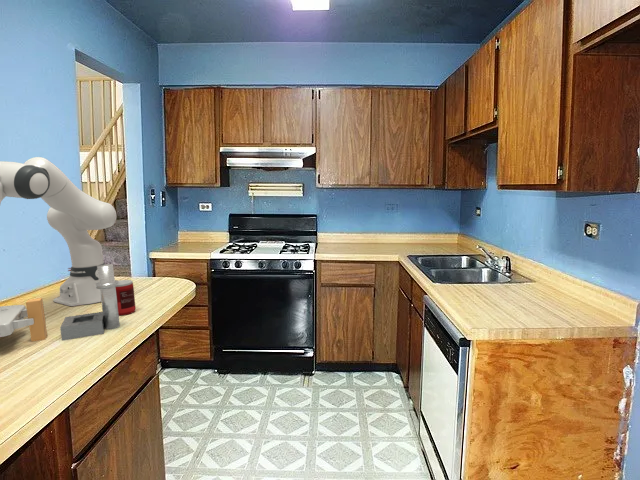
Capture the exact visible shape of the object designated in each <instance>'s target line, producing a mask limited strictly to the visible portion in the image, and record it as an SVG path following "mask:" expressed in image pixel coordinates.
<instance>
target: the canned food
mask: <svg viewBox="0 0 640 480" xmlns="http://www.w3.org/2000/svg"><path fill="white" fill-rule="evenodd" d="M118 283H119V285H118V286H116V296H117V305H118V314H119V317H120V316H127V315H131V314H133V313H135V312H136V310H137V309H136V300H135V289H134V282H133V280H130V279H119V280H118Z"/></svg>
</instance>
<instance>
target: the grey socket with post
mask: <svg viewBox="0 0 640 480" xmlns="http://www.w3.org/2000/svg"><path fill="white" fill-rule="evenodd" d="M97 269H98V277H99V282H98V283H96V288H97V289H100V294H101V310H102V311H97V312H90V313H84V314H77V315H70V316H65V317H64V319H63V322H62V324H61V325H60V327H59V328H60V329H59V330H60V337H61V341H68V340H72V339H80V338H85V337H92V336H98V335H102V334H103V335H104V334H105V330H114V329H118V328H119V327H120V326H121V324H120V323H121V322H120V316H119V314H118V305H117V296H116V286H118V285H119V283H118V281H119V280H117V279H115V272H114V264H111V263H107V264H106V263H105V265H100V266H97Z"/></svg>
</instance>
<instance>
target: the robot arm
mask: <svg viewBox="0 0 640 480" xmlns="http://www.w3.org/2000/svg"><path fill="white" fill-rule="evenodd" d="M6 197H8V198H17V199H18V198H19V199H25V200H36V199H40V198H41V199H42V200H43V201H44V203H46V204H47V205H48V206H49V208H48V211H47V213H46V220H47V222H48V224H49V225H50V227H51V228H52V229H54V230H56V231H57V232H58V233H59V234H60V235H61V236H62V238H63V239H64V240H65V242H66V245H67V247H68V250H69V255H70V261H71V267H68V268H67V269H68V270H67V272H69V277H67V279H66V280H65V281H64V282H63V283H62V284H61V285H60V286H59V296H58V297H55V298H54V299H53V302H55V303H57V304H60V305H61V304H62V305H63V306H64V305H65V306H69V307H76V306H81V305H89V304H96V303H100V302H101V294H100V289H97V288H96V283H98V282H99V277H98V269H97V266H100V265H105V264H106V263H105V261H104V253H103V246H102V244H101V243H100V242H99V241H98V240H96V239H94V238H93V237H92V236H90V234H89V232H88V231H99V230H104V229H108V228H111V227H112V226H114V225H115V223H116V221H117V211H116V209H115V207H114V206H113V205H112V204H111V203H109V202H105V201H102V200H99V199H97V198H95V197H93V196H91V195H90V194H88V193H86V192H84V191H83V190H81V189H80V188H79V187H77V185H76V184H74V183H73V182H72V180H70V178H69V177H68V176H67V175H66V174H65V173H64V172H63V170H61V169H60V168H58V167H57V166H56V165H55V164H54V163H52V162H51V161H50V160H48V159H47V158H46V157H45V158H44V157H41V156H36V157H35V156H34V157H31V158H29V159H27V160H26V161H25V162H24V163H22V162H17V161H2V160H0V205H1V203H2V201H3V200H4V199H5V198H6ZM101 303H102V302H101ZM34 322H35V321H34V318H28V314H27V307H26V305H24V304H14V305H11V304H10V305H2V306H1V305H0V338H3V337H8V336H11V335H12V334H13V333H14V331H16V330H18V329H21V328H24V327H27V326H28V327H29V325H33V324H34Z"/></svg>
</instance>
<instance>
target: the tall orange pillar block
mask: <svg viewBox="0 0 640 480" xmlns="http://www.w3.org/2000/svg"><path fill="white" fill-rule="evenodd" d="M25 308H26V309H27V314H28V317H27V318H34V321H35V322H34V324H33V325H28V327H29V335H30V342H31V343H33V342H38V341H44V340H46V339H47V337H48V330H47V329H48V328H47V323H46V317H45V316H46V315H45V309H44V308H45V307H44V301H43V297H40V298H29V299H28V300H26V302H25Z"/></svg>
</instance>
